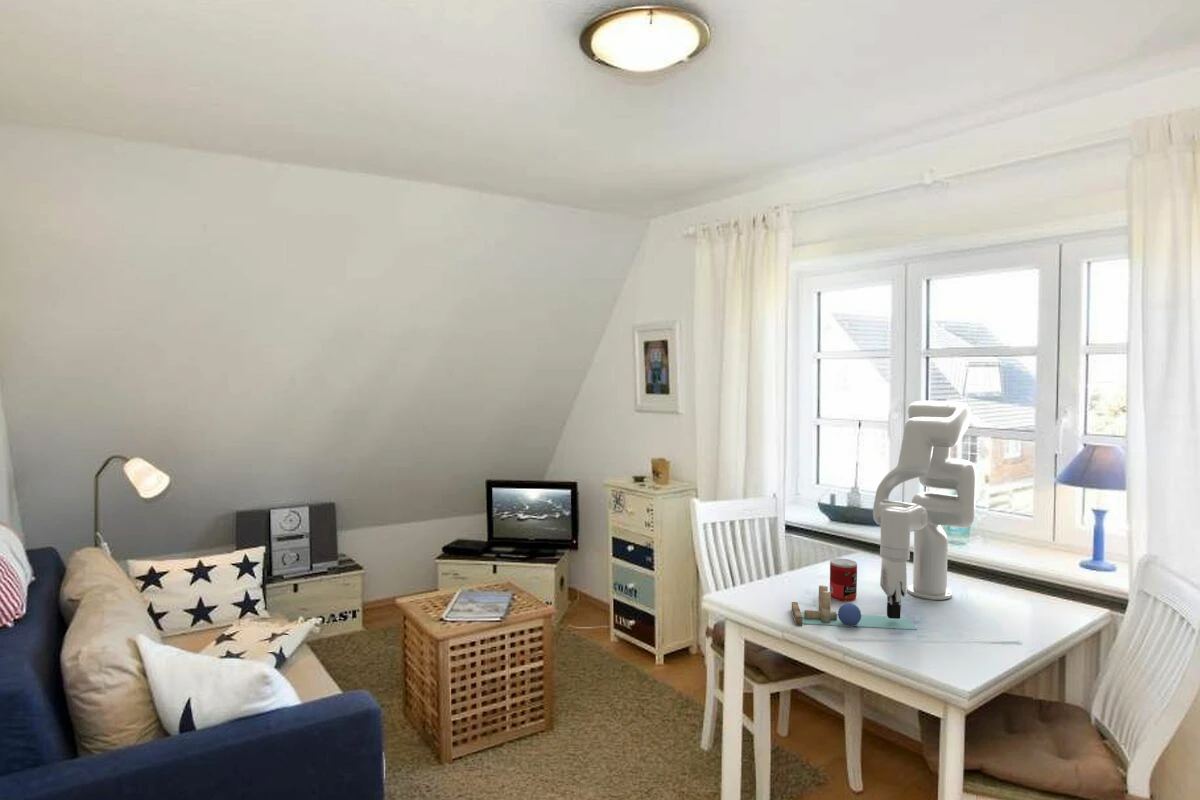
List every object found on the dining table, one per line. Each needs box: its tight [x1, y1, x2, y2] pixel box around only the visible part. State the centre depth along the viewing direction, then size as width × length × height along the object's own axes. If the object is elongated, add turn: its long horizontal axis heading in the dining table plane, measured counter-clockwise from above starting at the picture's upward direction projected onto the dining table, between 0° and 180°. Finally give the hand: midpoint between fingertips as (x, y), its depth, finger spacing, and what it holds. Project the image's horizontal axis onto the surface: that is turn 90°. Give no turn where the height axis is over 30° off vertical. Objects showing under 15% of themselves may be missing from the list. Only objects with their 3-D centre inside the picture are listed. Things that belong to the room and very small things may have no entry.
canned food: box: [829, 558, 858, 602], centre depth 220 cm, size 8×8×11 cm
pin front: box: [803, 609, 838, 620], centre depth 202 cm, size 2×2×8 cm
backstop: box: [791, 601, 803, 627], centre depth 203 cm, size 12×2×2 cm, turn 171°
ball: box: [837, 602, 862, 627], centre depth 197 cm, size 6×6×6 cm
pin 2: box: [821, 590, 832, 623], centre depth 199 cm, size 2×2×8 cm
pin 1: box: [818, 584, 829, 611], centre depth 204 cm, size 2×2×8 cm
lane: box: [801, 611, 918, 631], centre depth 201 cm, size 9×30×1 cm, turn 81°
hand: (893, 617), depth 199 cm, fingers closed
